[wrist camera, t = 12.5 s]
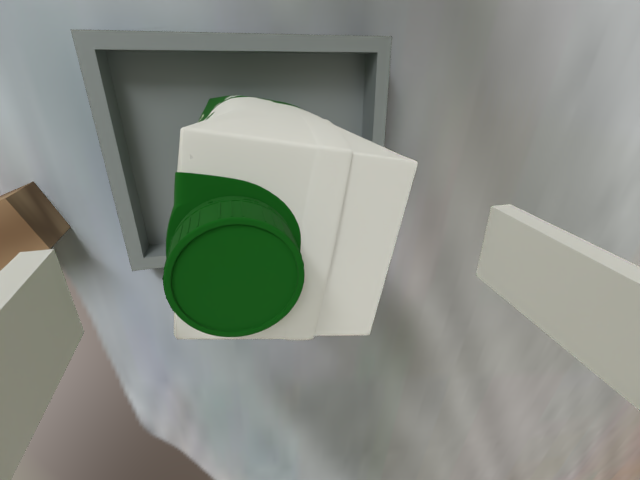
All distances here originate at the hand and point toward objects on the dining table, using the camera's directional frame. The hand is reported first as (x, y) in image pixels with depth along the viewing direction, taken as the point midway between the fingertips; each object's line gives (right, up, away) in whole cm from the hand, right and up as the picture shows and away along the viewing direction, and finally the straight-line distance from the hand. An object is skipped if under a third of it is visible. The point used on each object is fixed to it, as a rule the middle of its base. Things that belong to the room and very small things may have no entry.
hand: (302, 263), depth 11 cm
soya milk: (-5, +8, +18) cm, 20 cm away
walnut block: (-21, +3, +16) cm, 27 cm away
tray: (-5, +8, +18) cm, 20 cm away
